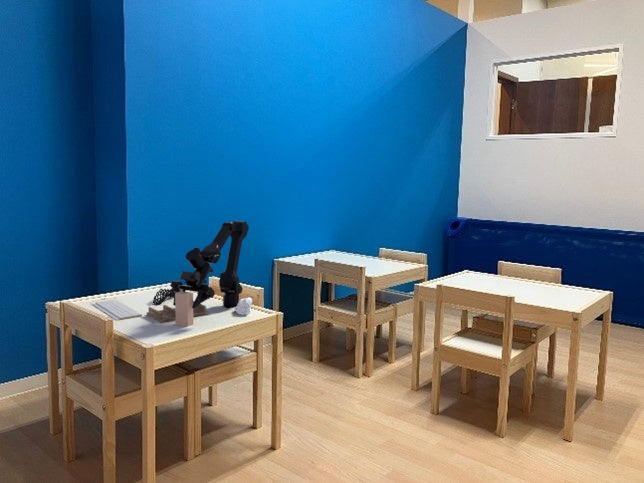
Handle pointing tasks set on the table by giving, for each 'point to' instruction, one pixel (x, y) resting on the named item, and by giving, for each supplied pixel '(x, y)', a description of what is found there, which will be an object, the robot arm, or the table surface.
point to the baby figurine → (244, 306)
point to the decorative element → (167, 294)
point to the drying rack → (173, 313)
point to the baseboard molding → (117, 309)
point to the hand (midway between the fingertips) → (183, 306)
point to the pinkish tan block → (184, 308)
